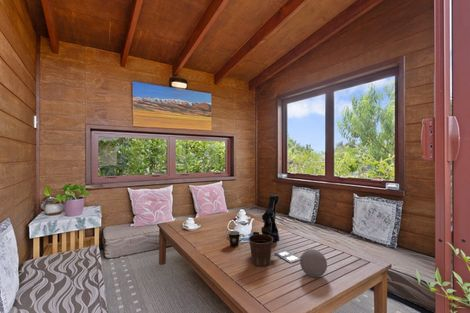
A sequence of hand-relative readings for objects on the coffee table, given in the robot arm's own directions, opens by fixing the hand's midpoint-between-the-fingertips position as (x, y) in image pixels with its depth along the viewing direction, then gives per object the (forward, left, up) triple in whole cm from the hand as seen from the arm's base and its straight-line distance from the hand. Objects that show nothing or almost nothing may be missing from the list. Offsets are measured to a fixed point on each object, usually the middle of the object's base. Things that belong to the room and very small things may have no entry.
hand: (264, 247), depth 160 cm
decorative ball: (-10, +35, -6) cm, 37 cm away
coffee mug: (+7, -27, -6) cm, 29 cm away
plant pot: (+7, +6, -6) cm, 11 cm away
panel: (-14, +9, -6) cm, 17 cm away
